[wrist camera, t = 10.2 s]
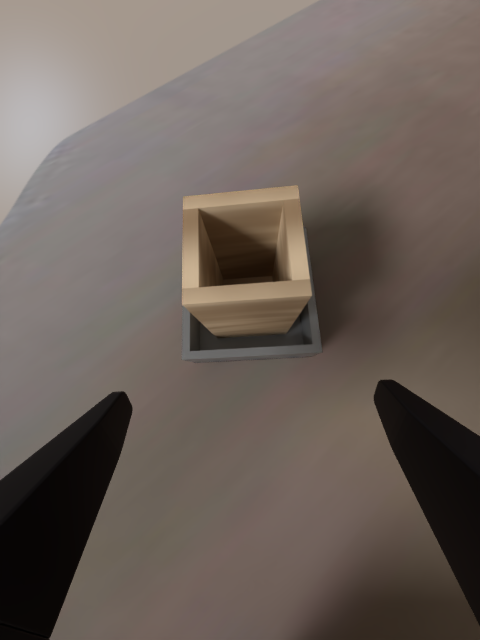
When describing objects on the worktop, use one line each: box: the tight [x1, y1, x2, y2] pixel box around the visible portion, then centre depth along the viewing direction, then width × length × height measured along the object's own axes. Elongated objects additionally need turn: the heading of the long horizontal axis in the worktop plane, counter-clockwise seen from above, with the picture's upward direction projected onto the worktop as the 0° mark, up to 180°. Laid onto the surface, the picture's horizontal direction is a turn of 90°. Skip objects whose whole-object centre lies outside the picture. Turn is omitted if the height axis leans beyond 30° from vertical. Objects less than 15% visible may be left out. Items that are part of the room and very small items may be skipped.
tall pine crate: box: [182, 185, 312, 338], centre depth 16 cm, size 6×6×10 cm
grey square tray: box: [182, 227, 322, 363], centre depth 20 cm, size 10×10×4 cm
